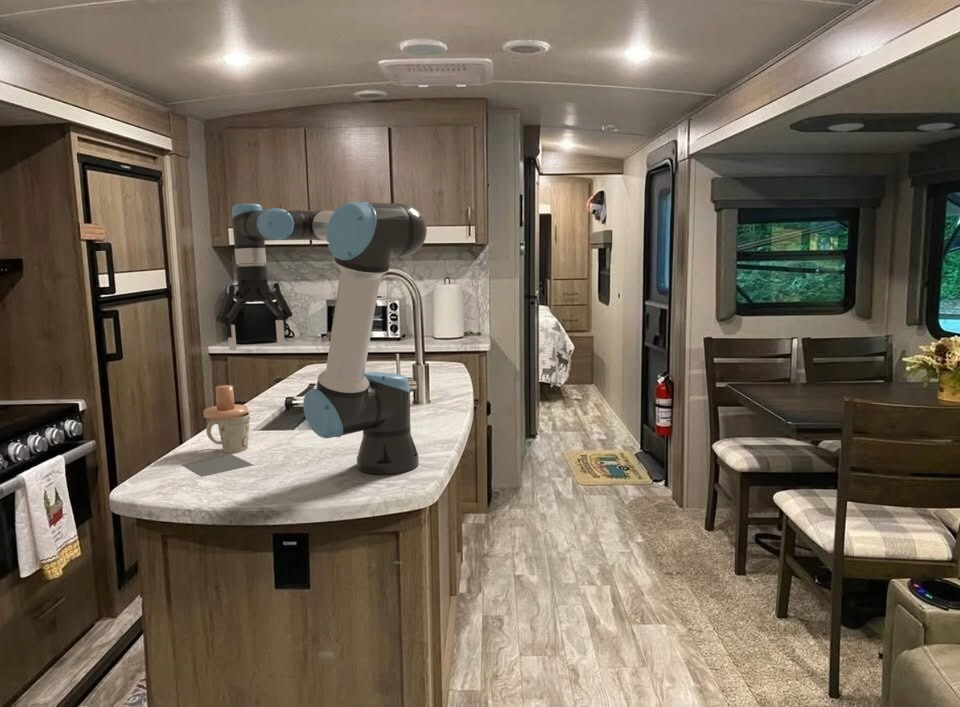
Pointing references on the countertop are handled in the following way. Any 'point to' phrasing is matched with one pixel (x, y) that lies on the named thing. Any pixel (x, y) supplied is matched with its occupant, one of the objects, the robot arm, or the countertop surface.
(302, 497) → the countertop surface
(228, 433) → the mug
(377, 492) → the countertop surface
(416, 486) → the countertop surface
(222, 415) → the lid
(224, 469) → the mat
